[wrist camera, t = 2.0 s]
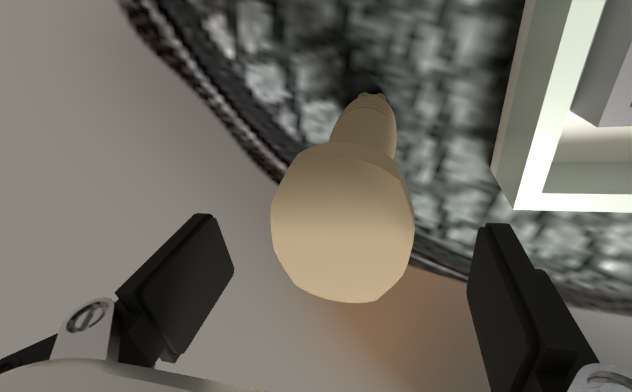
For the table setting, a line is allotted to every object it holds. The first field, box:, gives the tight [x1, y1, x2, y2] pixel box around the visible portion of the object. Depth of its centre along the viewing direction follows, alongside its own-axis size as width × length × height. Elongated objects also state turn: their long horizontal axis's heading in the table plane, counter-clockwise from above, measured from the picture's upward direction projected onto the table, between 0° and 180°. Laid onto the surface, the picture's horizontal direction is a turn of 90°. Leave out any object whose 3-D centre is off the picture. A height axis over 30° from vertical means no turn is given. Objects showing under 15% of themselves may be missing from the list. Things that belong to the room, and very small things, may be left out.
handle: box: [270, 92, 415, 303], centre depth 16 cm, size 5×6×15 cm
